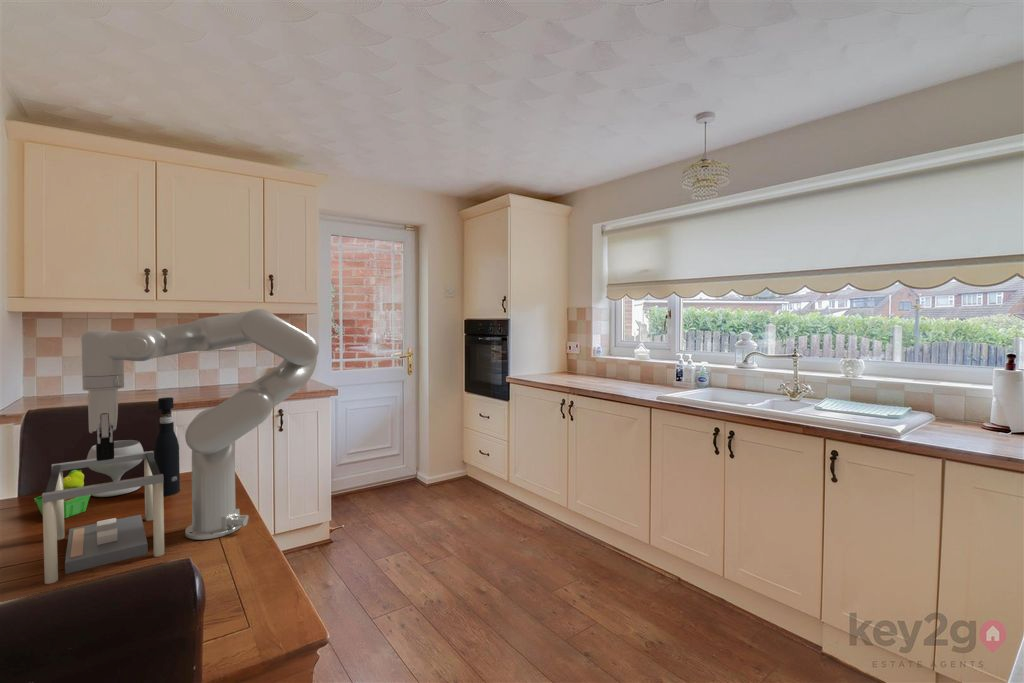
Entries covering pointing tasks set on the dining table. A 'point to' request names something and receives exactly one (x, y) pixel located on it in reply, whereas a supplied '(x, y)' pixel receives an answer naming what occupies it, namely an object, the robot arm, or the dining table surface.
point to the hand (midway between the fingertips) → (105, 459)
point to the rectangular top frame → (104, 487)
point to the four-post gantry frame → (84, 538)
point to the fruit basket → (71, 504)
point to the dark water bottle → (167, 449)
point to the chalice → (117, 464)
